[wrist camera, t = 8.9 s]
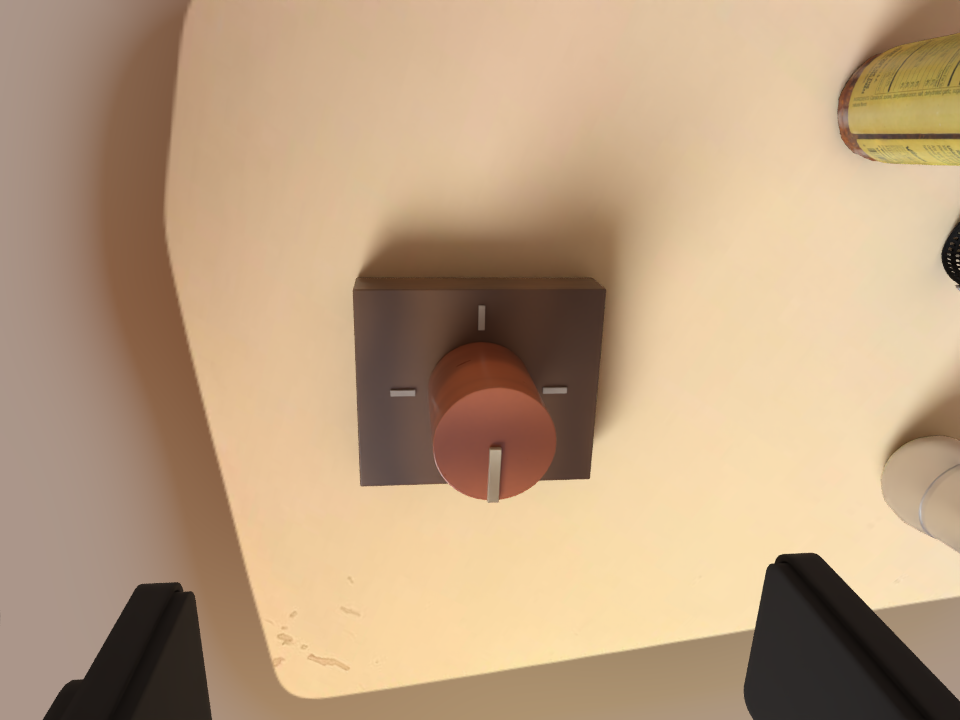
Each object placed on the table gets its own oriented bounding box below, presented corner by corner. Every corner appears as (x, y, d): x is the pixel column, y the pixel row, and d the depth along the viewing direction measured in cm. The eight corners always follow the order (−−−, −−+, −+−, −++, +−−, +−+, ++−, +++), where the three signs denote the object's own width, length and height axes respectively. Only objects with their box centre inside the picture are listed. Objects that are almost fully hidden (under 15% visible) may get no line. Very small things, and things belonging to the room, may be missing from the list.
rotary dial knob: (428, 341, 38) (434, 389, 31) (534, 342, 38) (563, 389, 32) (426, 439, 40) (431, 505, 33) (527, 438, 40) (553, 502, 33)
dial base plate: (363, 463, 43) (359, 488, 40) (356, 277, 39) (352, 290, 36) (578, 456, 45) (590, 480, 42) (592, 277, 41) (607, 289, 38)
